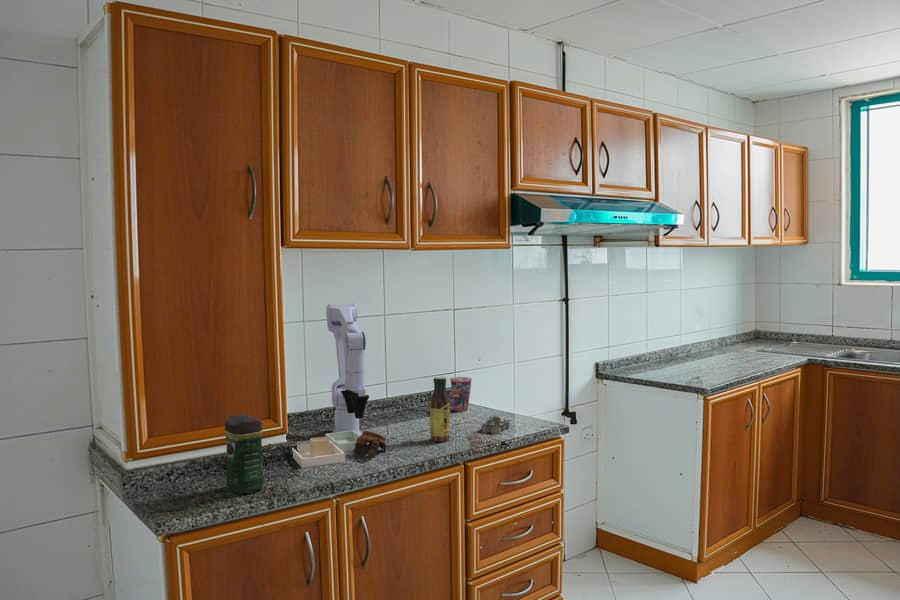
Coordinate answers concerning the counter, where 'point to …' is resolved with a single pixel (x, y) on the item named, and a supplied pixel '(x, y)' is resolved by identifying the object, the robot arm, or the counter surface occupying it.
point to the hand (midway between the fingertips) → (355, 415)
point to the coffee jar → (244, 454)
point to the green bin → (344, 440)
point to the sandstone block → (319, 446)
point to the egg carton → (495, 424)
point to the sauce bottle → (440, 412)
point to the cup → (460, 393)
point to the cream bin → (307, 460)
